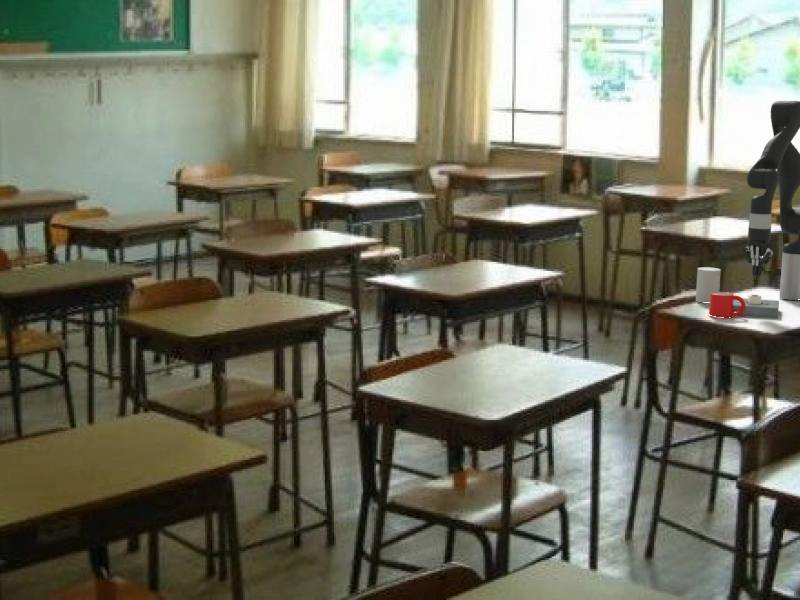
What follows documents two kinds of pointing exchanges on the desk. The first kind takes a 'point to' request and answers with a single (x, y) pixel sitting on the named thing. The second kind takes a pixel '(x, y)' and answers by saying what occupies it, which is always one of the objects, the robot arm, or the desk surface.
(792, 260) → the robot arm
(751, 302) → the bushing
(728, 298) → the mug
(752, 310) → the block
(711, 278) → the cup
